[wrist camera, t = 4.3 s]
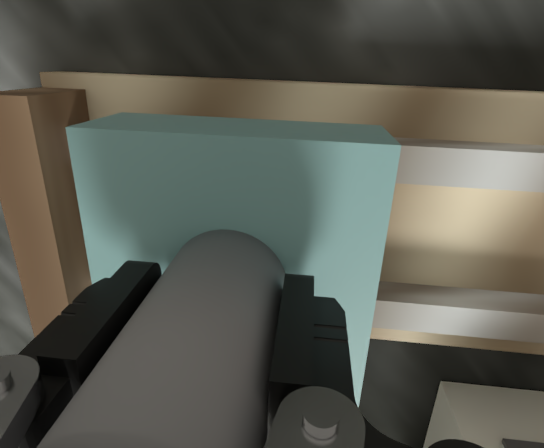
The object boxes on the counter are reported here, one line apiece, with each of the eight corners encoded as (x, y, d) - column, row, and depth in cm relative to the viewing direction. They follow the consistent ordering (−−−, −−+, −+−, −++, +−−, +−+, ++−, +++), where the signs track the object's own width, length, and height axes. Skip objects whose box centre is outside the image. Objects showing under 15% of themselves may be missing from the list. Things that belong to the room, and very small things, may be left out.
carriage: (381, 125, 12) (542, 285, 3) (350, 342, 15) (394, 703, 6) (121, 112, 12) (-284, 219, 4) (145, 322, 15) (-55, 626, 7)
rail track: (792, 101, 13) (1001, 119, 9) (661, 348, 16) (767, 435, 13) (60, 71, 15) (-32, 75, 11) (97, 296, 19) (39, 357, 15)
